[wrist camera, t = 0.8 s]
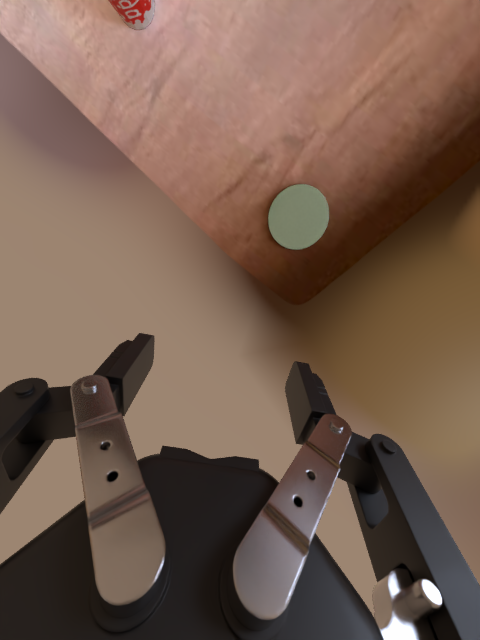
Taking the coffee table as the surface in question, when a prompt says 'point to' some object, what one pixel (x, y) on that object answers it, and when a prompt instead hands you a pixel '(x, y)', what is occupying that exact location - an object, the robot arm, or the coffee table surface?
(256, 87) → the coffee table surface
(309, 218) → the coaster
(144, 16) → the beverage cup
